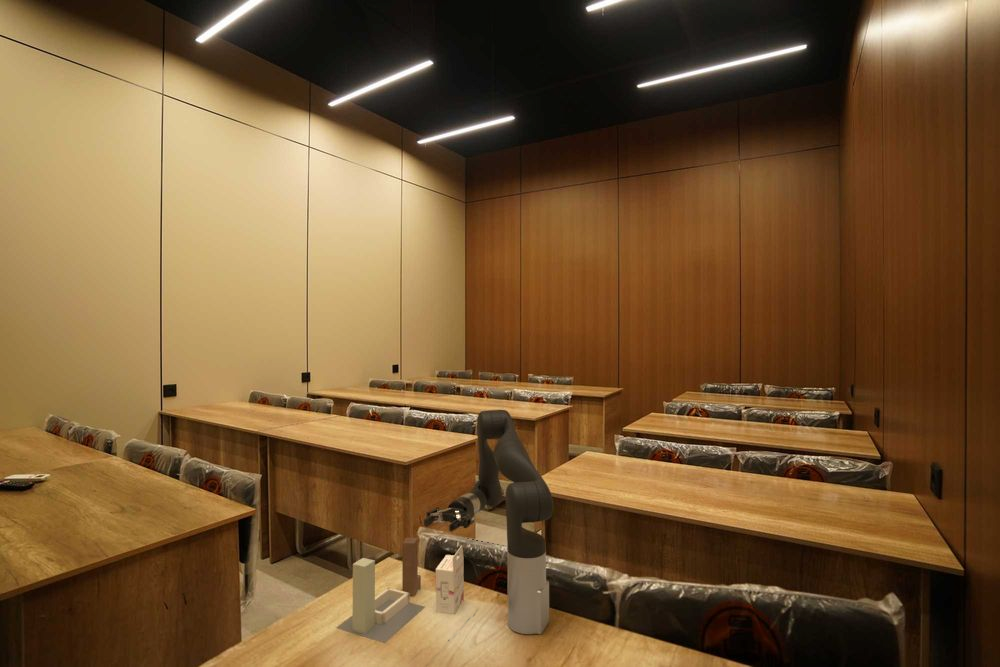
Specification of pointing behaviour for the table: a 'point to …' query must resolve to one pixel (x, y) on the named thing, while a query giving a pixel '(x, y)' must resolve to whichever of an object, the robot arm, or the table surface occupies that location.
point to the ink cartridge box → (450, 583)
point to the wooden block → (410, 566)
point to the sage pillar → (363, 595)
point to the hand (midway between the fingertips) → (437, 525)
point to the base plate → (387, 615)
